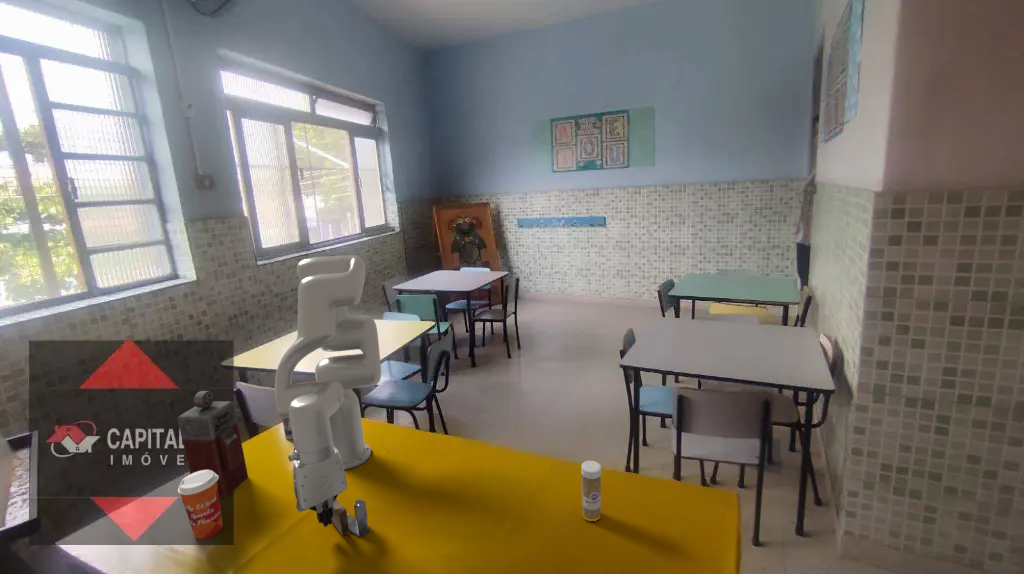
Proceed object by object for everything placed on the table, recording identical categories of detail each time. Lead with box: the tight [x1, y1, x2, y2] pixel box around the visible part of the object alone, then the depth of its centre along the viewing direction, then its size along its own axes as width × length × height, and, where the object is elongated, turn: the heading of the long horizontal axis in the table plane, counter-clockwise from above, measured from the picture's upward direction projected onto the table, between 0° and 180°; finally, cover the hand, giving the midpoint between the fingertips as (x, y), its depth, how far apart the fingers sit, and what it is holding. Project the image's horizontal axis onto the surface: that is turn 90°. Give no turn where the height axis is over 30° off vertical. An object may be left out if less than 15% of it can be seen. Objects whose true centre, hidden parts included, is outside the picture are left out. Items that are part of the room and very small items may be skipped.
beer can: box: [281, 416, 293, 441], centre depth 144 cm, size 5×5×12 cm
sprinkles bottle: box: [580, 460, 602, 519], centre depth 104 cm, size 5×5×14 cm
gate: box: [321, 498, 350, 536], centre depth 106 cm, size 12×2×6 cm, turn 43°
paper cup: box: [177, 470, 223, 540], centre depth 105 cm, size 8×8×14 cm
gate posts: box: [347, 498, 371, 538], centre depth 107 cm, size 18×4×8 cm, turn 56°
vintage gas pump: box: [177, 390, 249, 499], centre depth 119 cm, size 9×11×28 cm
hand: (326, 522), depth 102 cm, fingers closed
